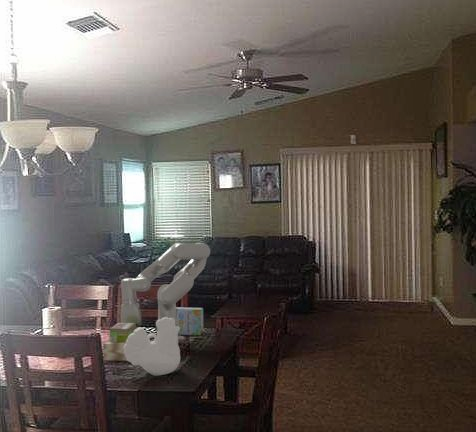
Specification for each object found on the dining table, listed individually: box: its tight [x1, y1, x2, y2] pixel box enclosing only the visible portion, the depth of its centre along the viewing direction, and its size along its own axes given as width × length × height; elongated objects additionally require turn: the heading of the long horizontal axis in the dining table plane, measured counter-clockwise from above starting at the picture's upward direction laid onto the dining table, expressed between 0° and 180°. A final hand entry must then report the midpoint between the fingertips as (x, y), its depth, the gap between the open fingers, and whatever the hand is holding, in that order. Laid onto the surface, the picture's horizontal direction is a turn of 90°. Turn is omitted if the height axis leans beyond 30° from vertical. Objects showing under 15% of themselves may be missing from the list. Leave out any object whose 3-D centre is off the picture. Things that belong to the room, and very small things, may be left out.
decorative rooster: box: [123, 317, 181, 377], centre depth 256 cm, size 25×16×25 cm, turn 99°
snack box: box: [176, 306, 204, 336], centre depth 334 cm, size 21×6×15 cm, turn 77°
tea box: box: [109, 322, 137, 342], centre depth 289 cm, size 15×10×15 cm, turn 176°
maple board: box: [102, 341, 127, 361], centre depth 280 cm, size 12×3×8 cm, turn 87°
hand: (132, 336), depth 306 cm, fingers closed
